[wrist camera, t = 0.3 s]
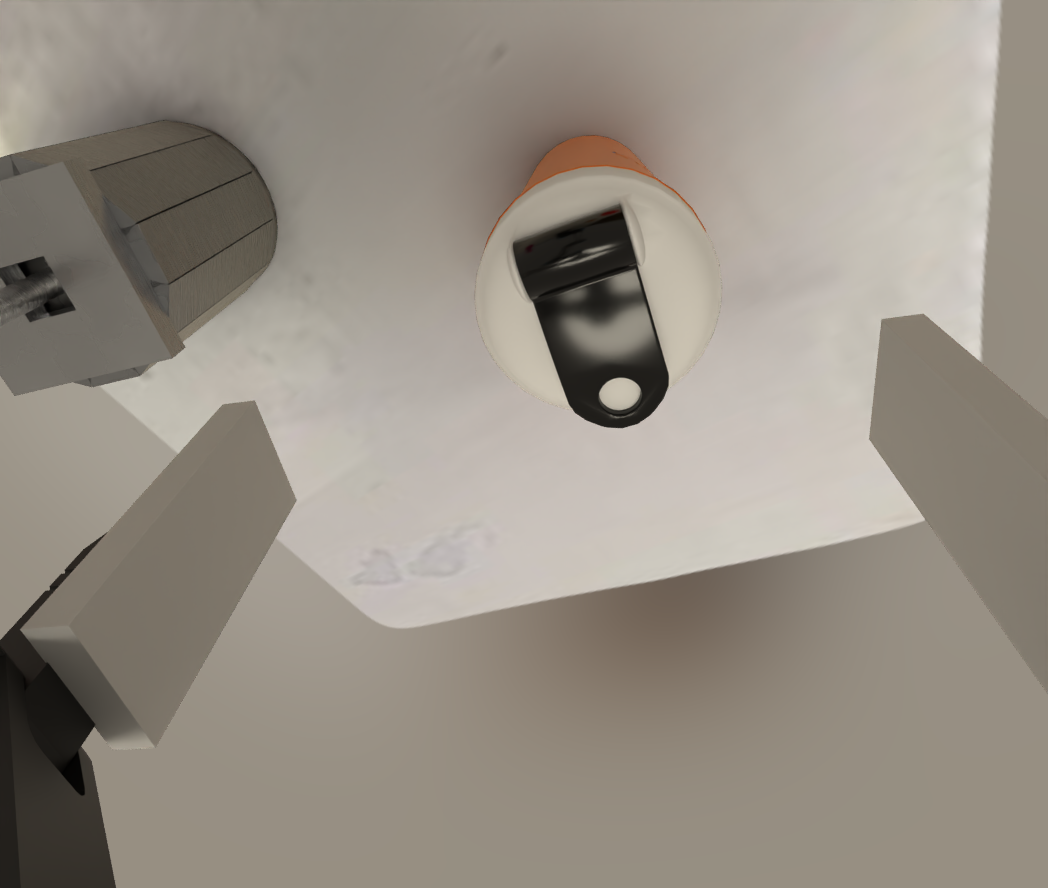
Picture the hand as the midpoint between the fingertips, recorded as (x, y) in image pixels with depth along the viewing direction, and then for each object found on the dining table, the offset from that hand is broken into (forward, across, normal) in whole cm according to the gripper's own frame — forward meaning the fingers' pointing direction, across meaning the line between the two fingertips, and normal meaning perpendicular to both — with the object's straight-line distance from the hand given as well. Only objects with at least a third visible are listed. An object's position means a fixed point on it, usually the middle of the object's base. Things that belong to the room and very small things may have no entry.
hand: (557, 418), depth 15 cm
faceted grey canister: (+28, -24, +1) cm, 37 cm away
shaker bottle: (+28, +1, -2) cm, 29 cm away
